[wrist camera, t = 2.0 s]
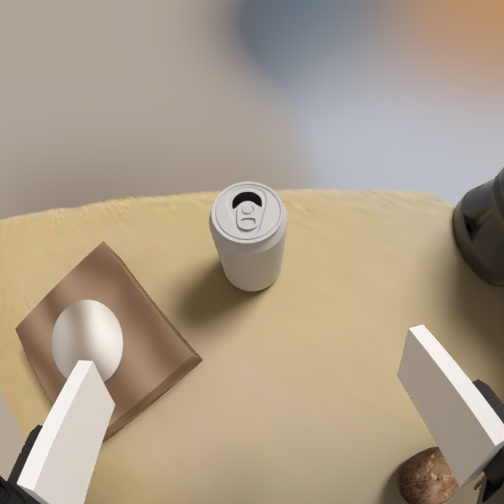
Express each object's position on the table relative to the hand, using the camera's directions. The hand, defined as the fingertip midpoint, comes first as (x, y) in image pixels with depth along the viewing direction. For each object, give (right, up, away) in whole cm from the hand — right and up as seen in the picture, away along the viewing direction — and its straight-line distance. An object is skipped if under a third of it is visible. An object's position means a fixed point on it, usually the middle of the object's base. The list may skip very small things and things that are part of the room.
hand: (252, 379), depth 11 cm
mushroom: (+19, -20, +12) cm, 30 cm away
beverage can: (0, +3, +23) cm, 24 cm away
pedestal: (-17, -6, +19) cm, 26 cm away
